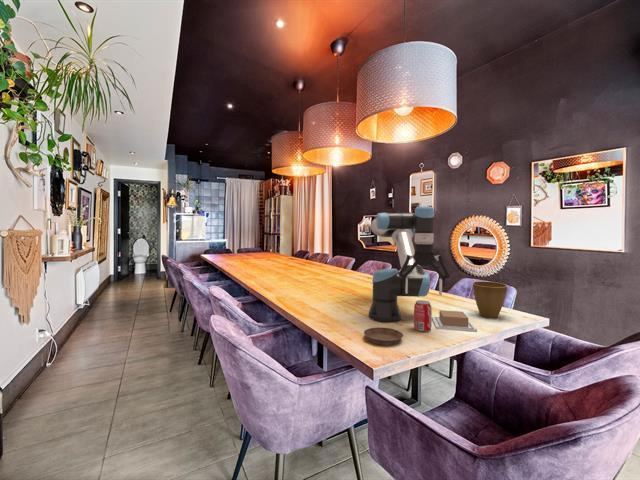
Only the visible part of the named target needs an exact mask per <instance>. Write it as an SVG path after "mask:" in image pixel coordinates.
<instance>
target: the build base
mask: <svg viewBox="0 0 640 480" xmlns="http://www.w3.org/2000/svg"><path fill="white" fill-rule="evenodd" d="M438 312H439V316H432V323H433V324H434V326H435V329H437V330H450V331H461V332H463V331H464V332H475V333H476V332H478V328H477V327H476V326H475V325H474V324H473V323H472V321H470V319H469V316H467V314H466V313H465V312H464V311H457V310H442V309H441V310H439V311H438Z"/></svg>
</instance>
